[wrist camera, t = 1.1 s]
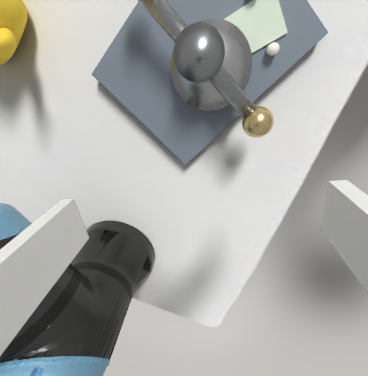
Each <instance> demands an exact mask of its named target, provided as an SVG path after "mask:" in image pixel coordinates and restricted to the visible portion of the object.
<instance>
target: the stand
mask: <svg viewBox="0 0 368 376" xmlns="http://www.w3.org/2000/svg"><path fill="white" fill-rule="evenodd" d="M167 2H168V3H169V4H170V5H171V6H172V8H173V9H174V10H175V11H176V12H177V13H178V15H179V16H180V17H181V18H182V19H183V20H184V22H185V23H186V24H187V25H190V24H193V23H196V22H199V21H201V20H204V19H209V18H219V19H224V20H226V21H229V22H231V23H233V24H234V25H235V26H237V27H238V28H239V29H240V30H241V31H242V32H243V34H244V35H245V37H246V39H247V41H248V43H249V45H250V48H251V53H252V70H251V75H250V78H249V81H248V83H247V86H246V87H245V89H244V92H245V94H246V95H247V96H248V97H249V98H250V100H251V101H252V102H254V101H255V100H256V99H257V98H258V97H259V96H260V95H261V94H263V93H264V92H265V91H266V90H267V89H268V88H269V87H270V86H271V85H272V84H273V83H274V82H275V81H277V80H278V79H279V78H280V77H281V76H282V75H283V74H284V73H285V72H286V71H287V70H288V69H289V68H291V67H292V66H293V65H294V64H295V63H296V62H297V61H298V60H299V59H300V58H301V57H302V56H303V55H305V54H306V53H307V52H308V51H309V50H310V49H311V48H312V47H313V46H314V45H315V44H316V43H317V42H319V41H320V40H321V39H322V38H323V37H324V36H325V35H326V34H327V33H328V31H327V30H326V28H325V27H324V25H323V24H322V22H321V21H320V19H319V18H318V16H317V15H316V13H315V12H314V10H313V9H312V8H311V6H310V5H309V3H308V2H307V0H167ZM174 45H175V42H174V41H173V40H172V38H171V37H170V36H169V35H168V34H167V33H166V32H165V30H164V29H163V28H162V27H161V26H160V25H159V24H158V23H157V21H156V20H155V19H154V18H153V17H152V16H151V15H150V14H149V12H148V11H147V10H146V9H145V8H144V7H143V6H142V4H141V3H140V2H138V3H137V5H136V6H135V8H134V9H133V11H132V12H131V14H130V16H129V17H128V19H127V20H126V22H125V23H124V25H123V26H122V28H121V29H120V31H119V33H118V34H117V36H116V37H115V39H114V40H113V42H112V43H111V45H110V46H109V48H108V50H107V51H106V53H105V54H104V56H103V57H102V59H101V60H100V62H99V64H98V65H97V67H96V68H95V70H94V71H93V73H92V75H93V76H94V77H95V78H96V79H97V80H98V81H99V82H100V83H101V84H102V85H103V86H104V87H105V88H106V89H107V90H108V91H109V92H110V93H111V94H112V95H113V96H114V97H116V98H117V99H118V100H119V101H120V102H121V103H122V104H123V105H124V106H125V107H126V108H127V109H128V110H129V111H130V112H131V113H132V114H133V115H134V116H135V117H136V118H137V119H138V120H139V121H140V122H141V123H143V124H144V125H145V126H146V127H147V128H148V129H149V130H150V131H151V132H152V133H153V134H154V135H155V136H156V137H157V138H158V139H159V140H160V141H161V142H162V143H163V144H164V145H165V146H166V147H167V148H169V149H170V150H171V151H172V152H173V153H174V154H175V155H176V156H177V157H178V158H179V159H180V160H181V161H182V162H183V163H184V164H185V165H186V164H187V163H188V162H189V161H190V160H191V159H192V158H194V157H195V156H196V155H197V154H198V153H199V152H200V151H201V150H202V149H203V148H204V147H205V146H206V145H208V144H209V143H210V142H211V141H212V140H213V139H214V138H215V137H216V136H217V135H218V134H219V133H220V132H222V131H223V130H224V129H225V128H226V127H227V126H228V125H229V124H230V123H231V122H232V121H233V120H234V119H236V118H237V117H238V116H239V114H238V113H237V112H236V111H235V110H234V109H233V107H232V106H231V105H230V104H229V105H228V106H226V107H224V108H221V109H218V110H211V111H207V110H200V109H197V108H194V107H193V106H191V105H189V104H188V103H186V102H185V101H184V100H183V99H182V98H181V96H180V95H179V94H178V92H177V91H176V89H175V86H174V84H173V81H172V76H171V57H172V53H173V50H174Z"/></svg>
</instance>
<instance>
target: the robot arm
mask: <svg viewBox="0 0 368 376" xmlns="http://www.w3.org/2000/svg"><path fill="white" fill-rule="evenodd" d="M321 230H322V232H323V233H324V234H325V236H326V237H327V238H328V240H329V241H330V242H331V243H332V245H333V246H334V248H335V249H336V250H337V252H338V253H339V254H340V256H341V257H342V259H343V260H344V261H345V263H346V264H347V265H348V267H349V268H350V269H351V271H352V272H353V273H354V275H355V276H356V277H357V279H358V280H359V282H360V283H361V284H362V286H363V287H364V288H365V290H366V291H367V292H368V195H366V194H365V193H364V192H362V191H361V190H359V189H358V188H357V187H356V186H354V185H353V184H351V183H350V182H349V181H347V180H340V181H329V184H328V189H327V196H326V201H325V207H324V213H323V219H322V225H321ZM154 261H155V253H154V249H153V246H152V244H151V242H150V241H149V240H148V238H147V237H146V236H145V235H144V234H143V233H142V232H140V231H139V230H138V229H136V228H134V227H132V226H130V225H128V224H125V223H122V222H117V221H102V222H98V223H95V224H93V225H92V226H90V227H89V228H88V229H87V230H86V228H85V226H84V223H83V221H82V218H81V216H80V213H79V210H78V208H77V205H76V203H75V200H74V199H62V200H60V201H59V202H58V203H57V204H55V205H54V206H53V207H52V208H50V209H49V210H48V211H47V212H46V213H44V214H43V215H42V216H41V217H39V218H38V219H37V220H36V221H35V222H33V223H31V222H30V221H29V220H27V219H26V218H25V217H24V216H23V215H22V214H21V213H20V212H19V211H17V210H16V209H15V208H14V207H12V206H11V205H8V204H4V203H0V376H103V374H104V372H105V369H106V367H107V366H108V365H109V362H110V358H111V355H112V352H113V350H114V346H115V344H116V341H117V338H118V335H119V332H120V330H121V327H122V324H123V321H124V318H125V315H126V313H127V310H128V307H129V304H130V301H131V299H132V296H133V294H134V293H135V292H136V291H137V290H138V288H139V287H140V286H141V285H142V283H143V282H144V281H145V280H146V279H147V277H148V276H149V274H150V272H151V270H152V267H153V264H154ZM71 262H72V263H71Z"/></svg>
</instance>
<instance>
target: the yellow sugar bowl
mask: <svg viewBox="0 0 368 376" xmlns="http://www.w3.org/2000/svg"><path fill="white" fill-rule="evenodd" d="M27 18H28V14H27V10H26V7H25V5H24V3H23V1H22V0H0V65H3V64H4V63H6V62H7V61H8V60H9V59H10V58H11V57H12V55H13V54H14V52H15V50H16V48H17V47H18V44H19V42H20V40H21V38H22V35H23V32H24V30H25V27H26V23H27Z"/></svg>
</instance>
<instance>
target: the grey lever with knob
mask: <svg viewBox="0 0 368 376" xmlns="http://www.w3.org/2000/svg"><path fill="white" fill-rule="evenodd" d="M138 1H139V2H140V3H141V4H142V6H143V7H144V8H145V9H146V10H147V11H148V12H149V14H150V15H151V16H152V17H153V18H154V19H155V20H156V21H157V23H158V24H159V25H160V26H161V27H162V28H163V29H164V30H165V32H166V33H167V34H168V35H169V36H170V37H171V38H172V40H173V41H174V42H175V45H174V50H173V53H172V57H171V76H172V81H173V84H174V86H175V89H176V91H177V92H178V94H179V95H180V96H181V98H182V99H183V100H184V101H185V102H186V103H188V104H189V105H191V106H193V107H194V108H197V109H200V110H207V111H211V110H218V109H221V108H224V107H226V106H228V105H229V104H230V105H231V106H232V107H233V109H234V110H235V111H236V112H237V113H238V114H239V115H240V117H241V118H242V119H243V121H242V126H243V129H244V131H245V132H246V133H247V134H248V135H249V136H251V137H262V136H264V135H266V134H267V133H268V132H269V131H270V130H271V128H272V126H273V122H274V120H273V115H272V113H271V112H270V111H269V110H268V109H267V108H265V107H260V106H258V107H256V105H255V104H254V103H253V102H252V101H251V100H250V98H249V97H248V96H247V95H246V94H245V92H244V89H245V87H246V86H247V83H248V81H249V78H250V75H251V70H252V53H251V48H250V45H249V43H248V41H247V39H246V37H245V35H244V34H243V32H242V31H241V30H240V29H239V28H238V27H237V26H235V25H234V24H233V23H231V22H229V21H226V20H224V19H219V18H209V19H204V20H201V21H199V22H196V23H193V24H190V25H187V24H186V23H185V22H184V20H183V19H182V18H181V17H180V16H179V15H178V13H177V12H176V11H175V10H174V9H173V8H172V6H171V5H170V4H169V3H168V2H167V0H138Z"/></svg>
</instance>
